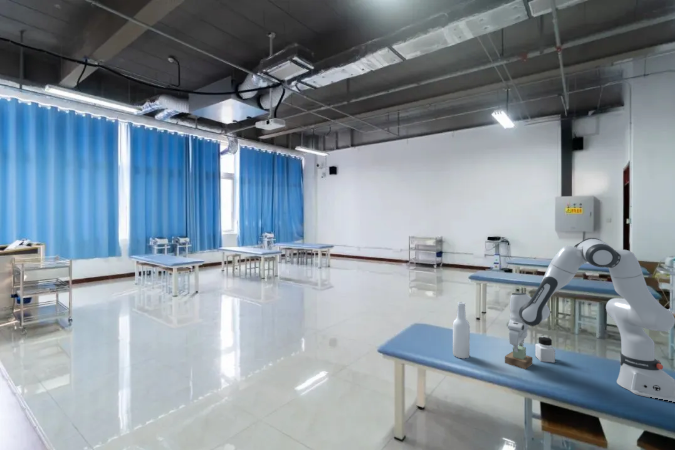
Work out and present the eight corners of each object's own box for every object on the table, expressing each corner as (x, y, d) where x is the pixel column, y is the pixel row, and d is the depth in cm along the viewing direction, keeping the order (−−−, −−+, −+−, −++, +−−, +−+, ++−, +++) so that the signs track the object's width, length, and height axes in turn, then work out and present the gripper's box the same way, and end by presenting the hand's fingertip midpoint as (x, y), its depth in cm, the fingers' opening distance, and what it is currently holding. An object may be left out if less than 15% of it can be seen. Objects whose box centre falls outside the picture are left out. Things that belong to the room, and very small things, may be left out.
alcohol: (467, 360, 172) (467, 305, 172) (450, 356, 177) (451, 303, 177) (471, 355, 180) (471, 302, 180) (454, 351, 185) (455, 300, 185)
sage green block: (525, 356, 169) (525, 347, 169) (523, 359, 165) (523, 350, 166) (515, 354, 173) (515, 345, 173) (512, 356, 169) (512, 347, 169)
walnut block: (532, 364, 169) (532, 357, 169) (525, 370, 162) (525, 362, 162) (512, 358, 176) (512, 351, 176) (504, 363, 170) (504, 356, 170)
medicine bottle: (555, 362, 170) (555, 340, 170) (540, 361, 172) (540, 339, 172) (549, 357, 177) (549, 335, 177) (535, 356, 179) (535, 334, 179)
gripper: (517, 317, 179) (517, 342, 179) (506, 326, 164) (506, 352, 164) (530, 320, 175) (530, 345, 175) (520, 328, 160) (520, 356, 160)
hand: (518, 349), depth 169 cm, fingers open, 8 cm apart
